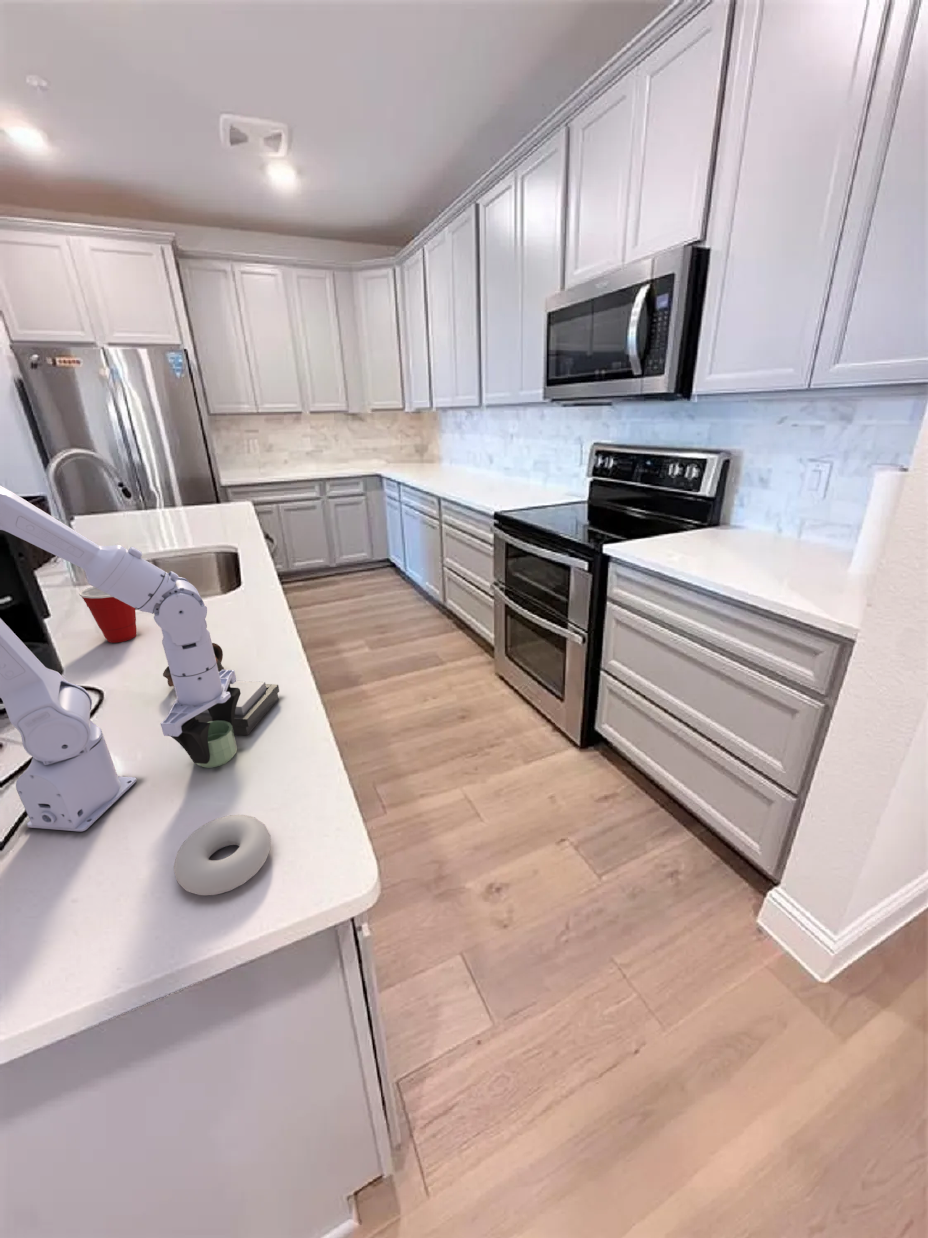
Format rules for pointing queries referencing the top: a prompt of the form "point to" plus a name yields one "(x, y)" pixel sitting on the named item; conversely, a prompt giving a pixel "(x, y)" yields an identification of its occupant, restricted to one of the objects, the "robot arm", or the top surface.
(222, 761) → the bowl
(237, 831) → the donut
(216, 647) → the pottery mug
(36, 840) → the top surface
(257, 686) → the scale pan
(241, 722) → the scale
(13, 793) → the top surface
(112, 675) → the top surface
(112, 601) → the plastic cup
